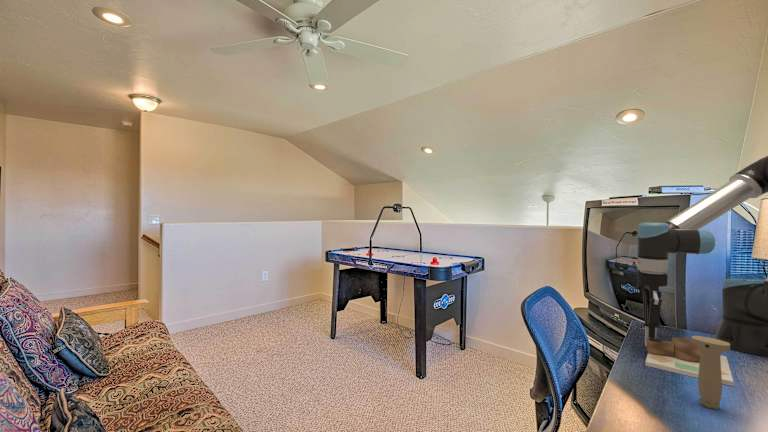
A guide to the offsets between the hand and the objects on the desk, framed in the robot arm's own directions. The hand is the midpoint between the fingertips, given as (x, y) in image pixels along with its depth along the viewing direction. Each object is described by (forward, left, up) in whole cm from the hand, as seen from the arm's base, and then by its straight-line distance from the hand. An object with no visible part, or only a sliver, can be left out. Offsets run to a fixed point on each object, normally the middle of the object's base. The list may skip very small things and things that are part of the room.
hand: (650, 346), depth 108 cm
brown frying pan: (-6, 0, -1) cm, 6 cm away
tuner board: (-9, 0, -3) cm, 9 cm away
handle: (-13, +28, -3) cm, 31 cm away
